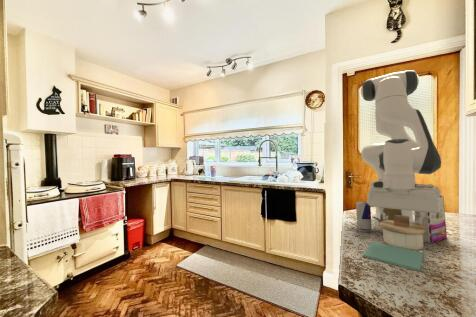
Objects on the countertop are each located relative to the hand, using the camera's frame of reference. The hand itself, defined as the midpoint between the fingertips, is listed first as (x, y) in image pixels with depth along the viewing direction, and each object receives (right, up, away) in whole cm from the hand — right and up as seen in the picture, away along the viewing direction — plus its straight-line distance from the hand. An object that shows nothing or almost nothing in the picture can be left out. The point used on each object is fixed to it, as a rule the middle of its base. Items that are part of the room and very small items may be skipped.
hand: (401, 221), depth 73 cm
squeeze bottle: (+6, -8, +13) cm, 16 cm away
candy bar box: (+14, -8, +3) cm, 16 cm away
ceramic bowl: (0, -8, 0) cm, 8 cm away
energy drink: (-4, -9, +16) cm, 18 cm away
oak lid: (0, -2, 0) cm, 2 cm away
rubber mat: (-10, -8, -8) cm, 15 cm away
